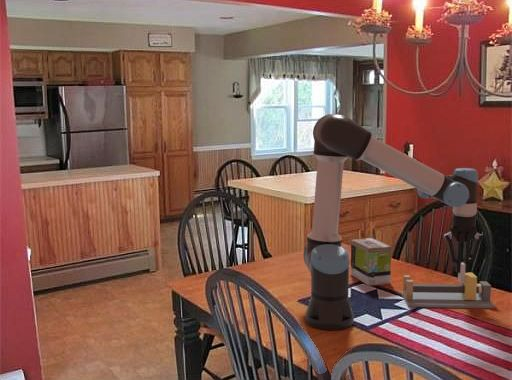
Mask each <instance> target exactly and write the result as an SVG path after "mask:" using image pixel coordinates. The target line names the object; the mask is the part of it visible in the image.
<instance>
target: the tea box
mask: <svg viewBox="0 0 512 380" xmlns="http://www.w3.org/2000/svg"><path fill="white" fill-rule="evenodd" d="M350 243H351V244H350V275H351V276H353V277H355V278H356V279H357V280H359V281H361V282H362V283H364V284H365V285H367V286H378V285H387V284H390V283H391V273H392V266H391V265H392V246H391V245H389V244H387V243H385V242H382V241H380V240H378V239H376V238H373V237H368V238H367V237H366V238H356V239H351V241H350Z"/></svg>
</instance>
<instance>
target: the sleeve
mask: <svg viewBox="0 0 512 380" xmlns="http://www.w3.org/2000/svg"><path fill="white" fill-rule="evenodd" d="M477 284H478V276H477V275H475V273H473V272H468V273H465V283H460V285H464V286H465V290H464V293H461V296H462V297H463V298H464V299H465V300H476V290H477Z"/></svg>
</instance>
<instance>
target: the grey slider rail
mask: <svg viewBox="0 0 512 380" xmlns="http://www.w3.org/2000/svg"><path fill="white" fill-rule="evenodd" d="M402 282H403V283H402V285H403V286H402V291H401V296H402V298H403V300H404V302H405V304H406V306H407V307H408V308H453V309H454V308H456V309H458V308H461V309H495V305H494V303H493V302H491V294H492V293H491V292H492V285H491V284H490V283H489V282H488V281H487V280H486V281H483V280H480V281H478V282H479V283H477V290H476V300H465V299H464V298H463V297H462V296H461V293H464V290H465V286H464V285H461V284H445V283H443V284H441V283H440V284H439V283H438V284H436V283H435V284H434V283H433V284H432V283H429V284H428V283H414V280H413V279H411V275H408V274H407V275H403V280H402Z"/></svg>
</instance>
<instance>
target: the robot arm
mask: <svg viewBox="0 0 512 380" xmlns="http://www.w3.org/2000/svg"><path fill="white" fill-rule="evenodd" d="M312 137H313V141H314V143H313V153H312V154H313V156H314V157H315V158H316V160H317V162H316V163H317V165H316V174H315V176H316V178H315V189H314V202H313V213H312V214H313V215H312V224H311V225H312V228H311V231H309V233H307V234H306V245H305V246H304V250H303V260H304V264H305V265H306V267H307V269H308V271H309V273H310V300H309V302H308V305H307V308H306V310H305V311H306V312H305V322H306V324H307V325H309V326H310V327H312V328H315V329H319V330H326V331H339V330H344V329H348V328H350V327H352V325H354V322H355V320H354V319H355V317H354V315H355V314H354V311H353V309H352V305H351V302H350V300H349V278H350V276H349V272H350V271H349V270H350V267H349V266H350V258H349V252H348V250H347V249H346V248H345V247H342V241H343V238H342V236H341V234H339V221H340V212H341V211H340V209H341V199H342V186H343V176H344V175H343V174H344V164H345V161H347V159H349V158H351V159H352V160H355V161H359V160H361V161H363V162H366V163H367V164H369V165H371V166H373V167H375V168H377V169H379V170H381V171H383V172H384V173H386V174H388V175H391V176H392V177H394V178H395V179H398V180H400V181H402V182H403V183H405V184H407V185H410V186H411V187H414V188H415V189H416V190H417V194H418V197H420V198H421V199H435V200H437V201H438V202H441V203H442V204H443V203H444V204H446V205H447V206H449V207H452V215H451V216H452V217H451V228H450V230H449V232H447V233H443V238H444V239H445V240H446V241H445V242H446V245H447V250H448V254H449V255H448V256H449V259H450V261H451V262H453V263H455V272H456V273H457V281H458V282H459V284H461V283H465V273H469V265H470V264H471V263H474V262H475V260H476V258H477V254H478V251H479V248H480V244H481V242H482V241H483V239H484V235H483V234H481V233H479V232H478V230H477V227H476V225H477V211H478V210H477V206H478V189H479V172H478V170H477V169H475V168H471V167H460V168H459V167H458V168H455V169H454V171H453V174H449V175H448V174H447V175H445V174H443V173H441V172H440V171H438V170H437V169H434V168H432V167H430V166H428V165H426V164H424V163H423V162H420V161H419V160H418V159H415V158H414V157H411V156H409V155H407V154H406V153H404V152H402V151H400V150H398V149H396V148H395V147H392V146H391V145H389V144H387V143H385V142H383V141H381V140H380V139H378V138H376V137H374V134H373V132H372V131H370V130H367V129H366V128H365V127H363V126H361V125H360V124H358V123H357V122H356V121H354V120H352V119H351V118H350V117H348V116H346V115H343V114H338V113H337V114H335V113H329V114H326V115H323V116H321V117H320V118H319V119H318V120H317V121H316V123H315V124H314V126H313V129H312ZM452 238H454V239H455V249H454V245H453V241H452ZM472 239H474V240H473V242H472V243H473V244H472V246H471V241H472ZM470 247H471V250H470ZM454 250H455V251H454ZM462 252H463V255H462ZM462 256H463V257H462ZM462 259H463V260H462ZM462 261H463V262H462Z"/></svg>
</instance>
